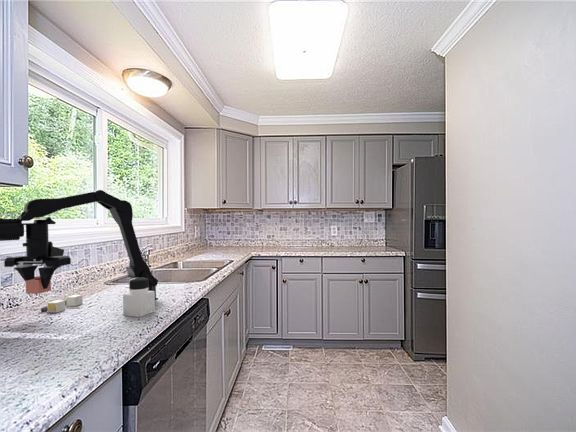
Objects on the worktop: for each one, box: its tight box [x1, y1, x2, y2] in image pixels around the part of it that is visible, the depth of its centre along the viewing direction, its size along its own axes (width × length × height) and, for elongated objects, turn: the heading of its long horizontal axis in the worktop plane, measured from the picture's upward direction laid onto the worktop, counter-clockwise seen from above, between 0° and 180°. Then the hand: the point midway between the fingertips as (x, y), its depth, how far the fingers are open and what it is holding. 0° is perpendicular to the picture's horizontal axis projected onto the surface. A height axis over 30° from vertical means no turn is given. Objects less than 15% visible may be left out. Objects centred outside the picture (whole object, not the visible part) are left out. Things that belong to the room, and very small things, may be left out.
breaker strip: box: [40, 299, 80, 313], centre depth 119 cm, size 10×15×3 cm, turn 172°
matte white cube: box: [46, 299, 66, 314], centre depth 115 cm, size 4×4×3 cm
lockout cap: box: [25, 275, 52, 295], centre depth 108 cm, size 4×4×5 cm
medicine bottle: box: [122, 277, 156, 318], centre depth 115 cm, size 7×7×12 cm
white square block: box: [65, 294, 84, 307], centre depth 123 cm, size 4×4×3 cm
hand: (38, 288), depth 108 cm, fingers closed on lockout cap, 4 cm apart
